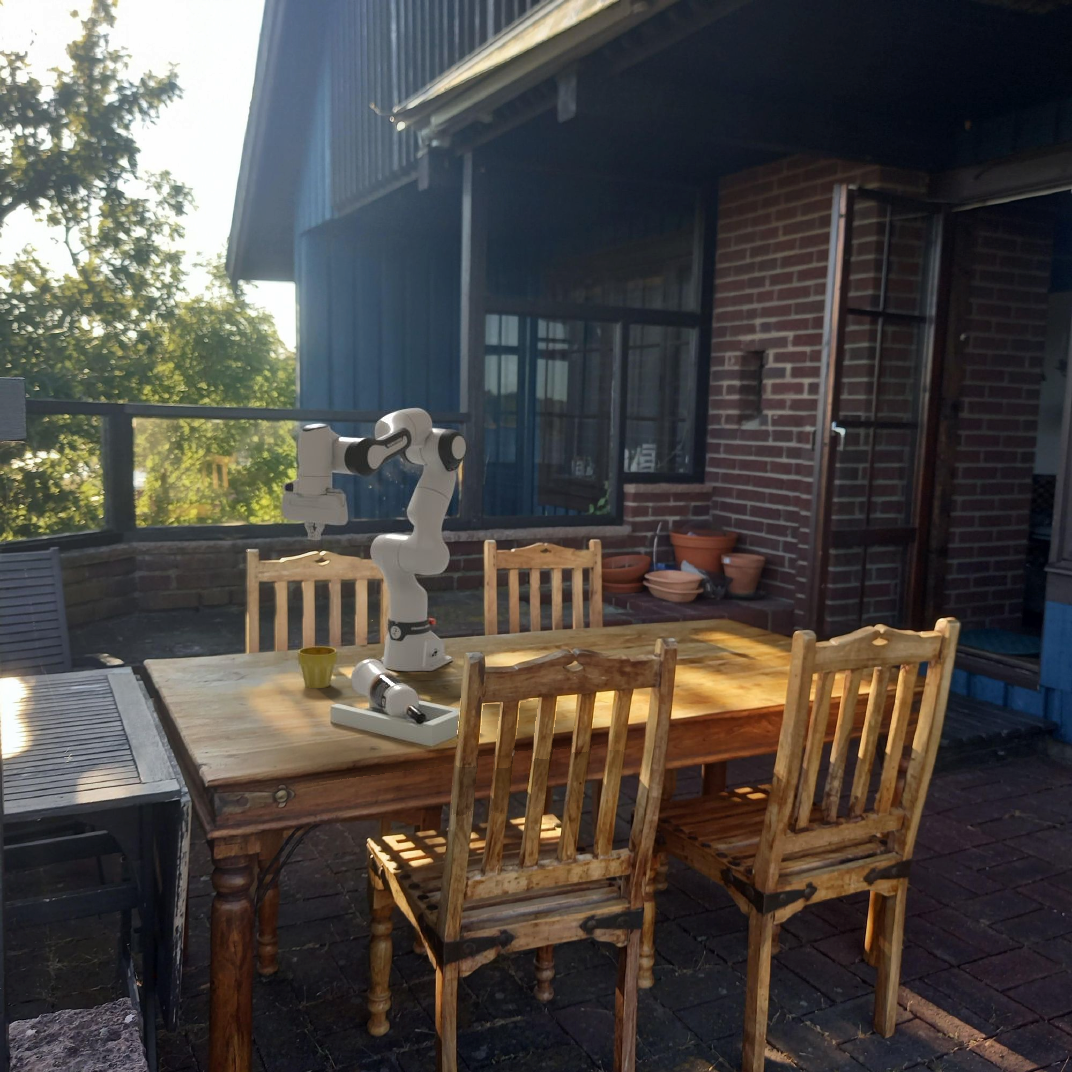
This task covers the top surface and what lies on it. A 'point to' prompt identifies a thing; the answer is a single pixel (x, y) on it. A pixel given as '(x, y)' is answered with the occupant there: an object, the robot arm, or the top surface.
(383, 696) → the vodka
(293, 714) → the top surface
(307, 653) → the plant pot
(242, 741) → the top surface
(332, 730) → the top surface
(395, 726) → the cradle
